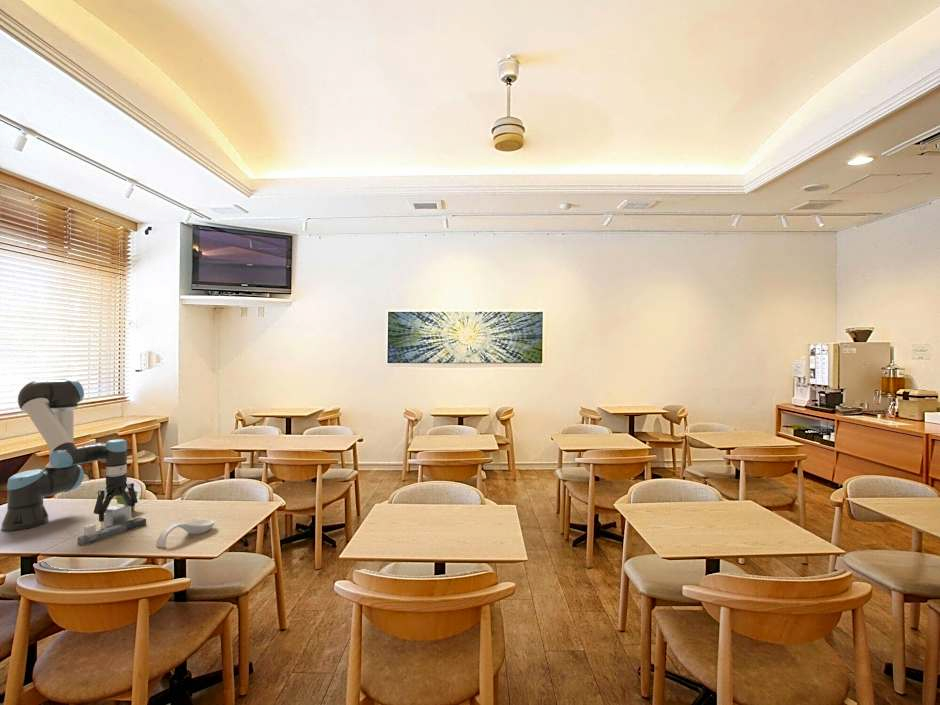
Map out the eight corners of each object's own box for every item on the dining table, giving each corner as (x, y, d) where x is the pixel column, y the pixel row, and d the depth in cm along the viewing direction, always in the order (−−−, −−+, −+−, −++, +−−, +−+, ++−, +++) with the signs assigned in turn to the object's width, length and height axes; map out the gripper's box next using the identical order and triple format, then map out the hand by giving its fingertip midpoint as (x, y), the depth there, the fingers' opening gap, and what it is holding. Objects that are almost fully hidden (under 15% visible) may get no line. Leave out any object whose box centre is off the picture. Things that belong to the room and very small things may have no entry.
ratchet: (85, 545, 184) (85, 529, 184) (77, 543, 186) (77, 527, 186) (146, 524, 206) (146, 510, 206) (138, 523, 208) (138, 508, 208)
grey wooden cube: (103, 526, 204) (103, 508, 204) (119, 521, 210) (119, 503, 210) (113, 528, 202) (113, 510, 202) (128, 523, 208) (128, 505, 208)
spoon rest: (200, 525, 206) (200, 509, 206) (221, 528, 203) (221, 512, 203) (149, 546, 184) (149, 528, 184) (171, 550, 180) (171, 532, 180)
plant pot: (143, 509, 227) (143, 491, 227) (124, 515, 218) (124, 497, 218) (128, 507, 229) (128, 490, 229) (109, 513, 220) (109, 495, 220)
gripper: (93, 481, 195) (93, 534, 194) (147, 469, 215) (147, 517, 215) (82, 480, 197) (82, 532, 197) (136, 468, 218) (136, 515, 218)
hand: (116, 524), depth 206 cm, fingers open, 10 cm apart
